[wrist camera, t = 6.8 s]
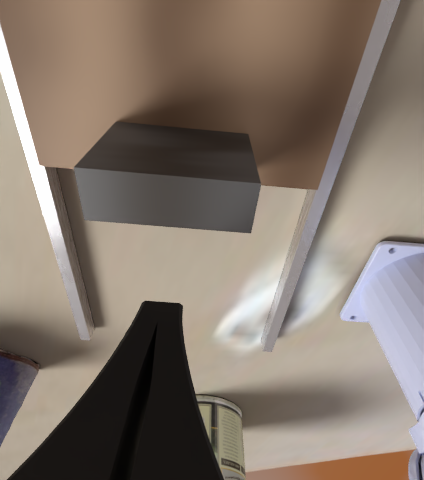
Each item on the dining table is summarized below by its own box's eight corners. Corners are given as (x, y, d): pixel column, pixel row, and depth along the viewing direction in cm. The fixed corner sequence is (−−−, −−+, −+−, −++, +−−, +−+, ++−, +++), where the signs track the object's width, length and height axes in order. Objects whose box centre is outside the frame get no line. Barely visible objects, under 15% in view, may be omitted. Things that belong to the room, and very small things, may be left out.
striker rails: (391, -14, 12) (406, -16, 11) (269, 339, 27) (271, 351, 26) (-20, -63, 12) (-41, -69, 11) (85, 327, 26) (80, 339, 25)
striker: (363, -10, 12) (487, -28, 7) (308, 173, 17) (352, 252, 11) (9, -51, 12) (-182, -108, 6) (56, 151, 16) (-26, 222, 11)
